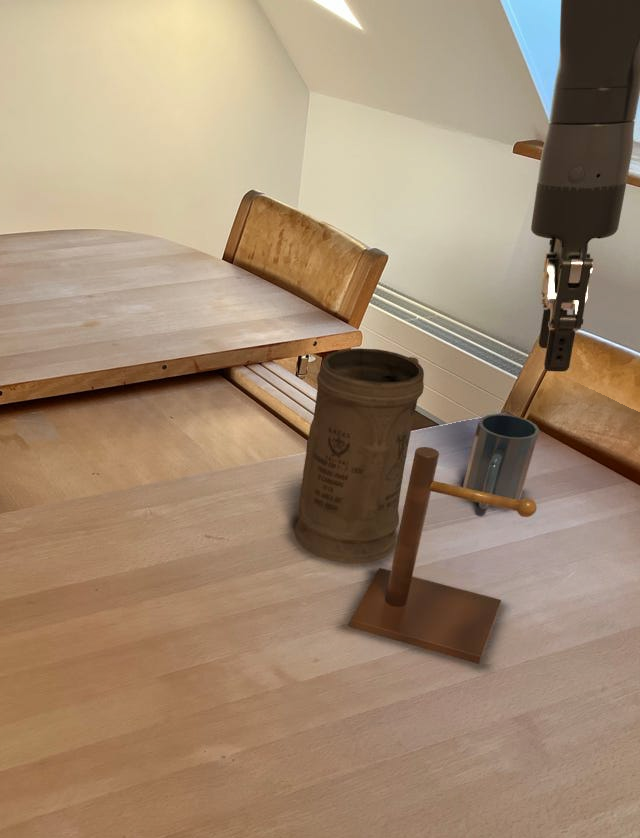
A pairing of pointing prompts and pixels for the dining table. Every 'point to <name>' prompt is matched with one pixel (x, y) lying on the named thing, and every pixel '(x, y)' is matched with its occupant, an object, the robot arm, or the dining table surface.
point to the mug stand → (424, 600)
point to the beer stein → (357, 454)
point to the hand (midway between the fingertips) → (552, 358)
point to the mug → (501, 456)
